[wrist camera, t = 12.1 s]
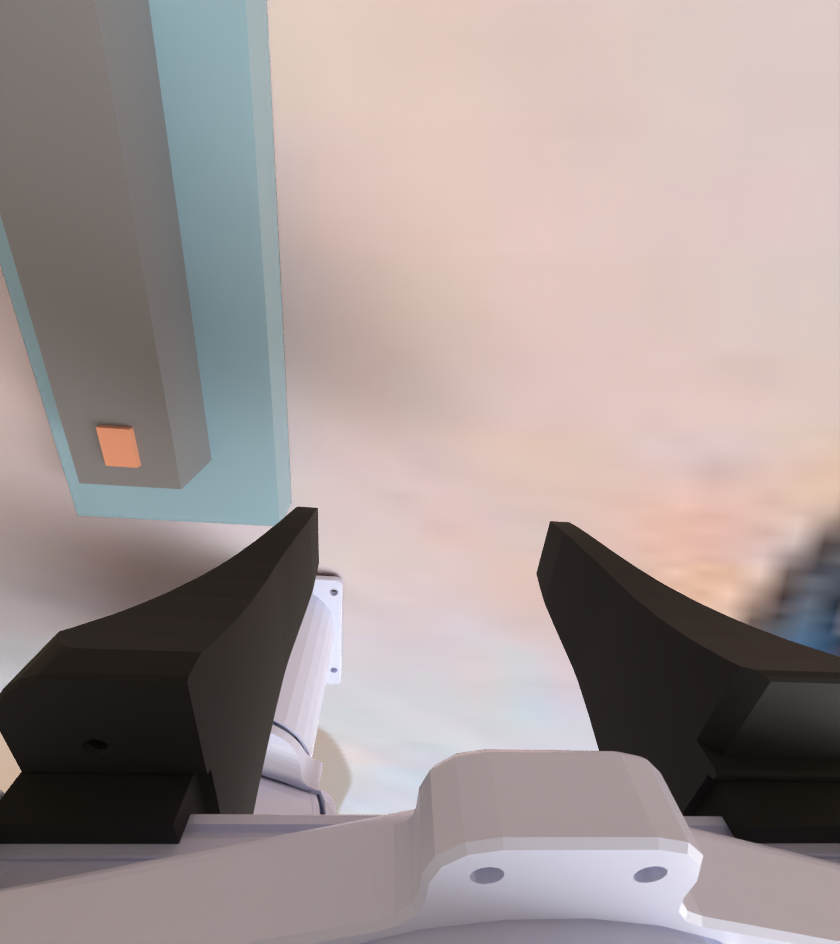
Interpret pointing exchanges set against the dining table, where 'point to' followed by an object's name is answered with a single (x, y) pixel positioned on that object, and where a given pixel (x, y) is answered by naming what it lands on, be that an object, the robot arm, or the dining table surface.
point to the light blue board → (211, 270)
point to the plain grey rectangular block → (100, 237)
